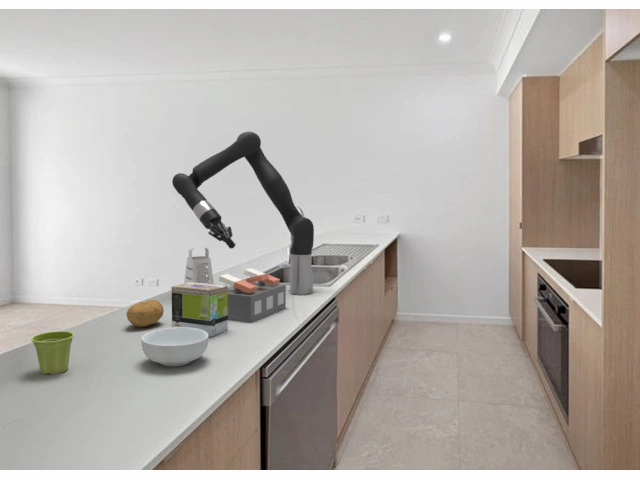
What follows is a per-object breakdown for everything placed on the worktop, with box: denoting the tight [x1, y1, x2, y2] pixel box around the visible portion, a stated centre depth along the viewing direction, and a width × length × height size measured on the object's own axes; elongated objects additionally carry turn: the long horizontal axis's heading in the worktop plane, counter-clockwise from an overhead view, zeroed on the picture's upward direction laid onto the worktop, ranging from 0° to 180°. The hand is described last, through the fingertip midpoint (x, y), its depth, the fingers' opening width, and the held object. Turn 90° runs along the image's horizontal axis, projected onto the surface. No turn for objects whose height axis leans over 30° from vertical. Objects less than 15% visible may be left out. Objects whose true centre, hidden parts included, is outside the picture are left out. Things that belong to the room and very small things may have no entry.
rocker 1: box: [218, 273, 257, 293], centre depth 186 cm, size 5×13×2 cm, turn 66°
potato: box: [125, 299, 165, 328], centre depth 174 cm, size 10×14×8 cm
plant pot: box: [30, 330, 75, 375], centre depth 131 cm, size 9×9×9 cm
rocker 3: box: [243, 267, 281, 286], centre depth 201 cm, size 5×13×2 cm, turn 66°
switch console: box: [228, 281, 287, 323], centre depth 197 cm, size 31×16×11 cm, turn 156°
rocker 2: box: [240, 273, 270, 283], centre depth 194 cm, size 5×13×2 cm, turn 66°
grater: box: [183, 246, 215, 284], centre depth 226 cm, size 10×10×20 cm
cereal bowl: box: [140, 327, 209, 367], centre depth 139 cm, size 17×17×7 cm
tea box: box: [171, 282, 229, 338], centre depth 168 cm, size 15×10×15 cm, turn 65°
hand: (233, 247), depth 206 cm, fingers closed
